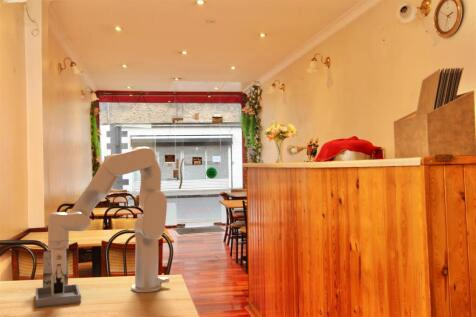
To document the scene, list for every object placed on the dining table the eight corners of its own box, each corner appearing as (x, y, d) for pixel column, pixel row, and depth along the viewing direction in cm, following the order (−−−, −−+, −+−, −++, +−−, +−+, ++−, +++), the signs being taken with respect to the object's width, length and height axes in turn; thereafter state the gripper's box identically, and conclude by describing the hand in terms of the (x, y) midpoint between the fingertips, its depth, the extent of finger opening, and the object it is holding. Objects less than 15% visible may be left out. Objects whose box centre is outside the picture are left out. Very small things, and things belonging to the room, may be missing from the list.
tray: (77, 291, 184) (77, 284, 184) (80, 302, 170) (80, 294, 170) (35, 295, 177) (35, 288, 177) (35, 308, 163) (35, 299, 163)
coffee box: (56, 291, 183) (56, 252, 183) (42, 290, 184) (42, 251, 184) (68, 285, 192) (69, 248, 192) (55, 284, 193) (55, 247, 193)
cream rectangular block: (63, 290, 176) (63, 273, 176) (64, 293, 172) (64, 275, 172) (51, 292, 175) (51, 274, 175) (51, 295, 170) (51, 277, 170)
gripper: (70, 247, 167) (69, 296, 167) (67, 239, 183) (66, 284, 183) (48, 249, 164) (48, 298, 164) (47, 241, 180) (46, 286, 180)
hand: (58, 290), depth 173 cm, fingers closed on cream rectangular block, 4 cm apart
